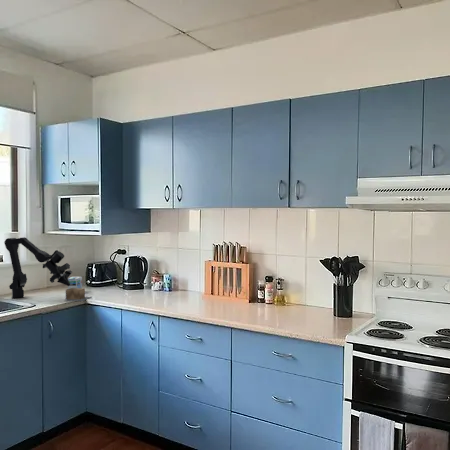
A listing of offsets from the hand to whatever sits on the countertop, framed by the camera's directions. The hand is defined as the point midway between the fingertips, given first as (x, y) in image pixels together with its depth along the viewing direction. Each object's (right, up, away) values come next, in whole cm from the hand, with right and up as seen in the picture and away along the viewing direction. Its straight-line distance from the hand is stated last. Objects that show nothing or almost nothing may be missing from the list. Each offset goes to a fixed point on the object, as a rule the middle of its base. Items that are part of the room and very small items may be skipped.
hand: (69, 285), depth 292 cm
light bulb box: (-4, -8, +22) cm, 24 cm away
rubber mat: (+6, -8, -1) cm, 10 cm away
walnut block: (-1, -5, 0) cm, 5 cm away
